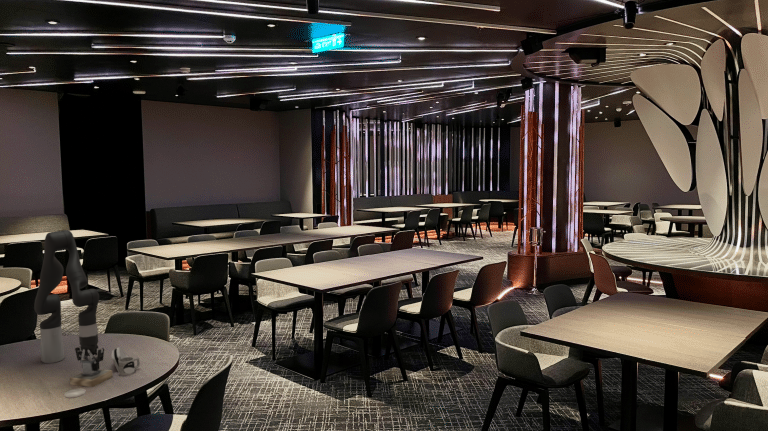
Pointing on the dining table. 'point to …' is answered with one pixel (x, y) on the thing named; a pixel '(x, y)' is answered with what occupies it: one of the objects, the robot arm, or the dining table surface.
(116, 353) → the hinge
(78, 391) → the white smooth dome part
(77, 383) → the wooden framed mirror
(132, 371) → the mug
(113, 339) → the dining table surface
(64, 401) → the dining table surface
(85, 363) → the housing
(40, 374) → the dining table surface
